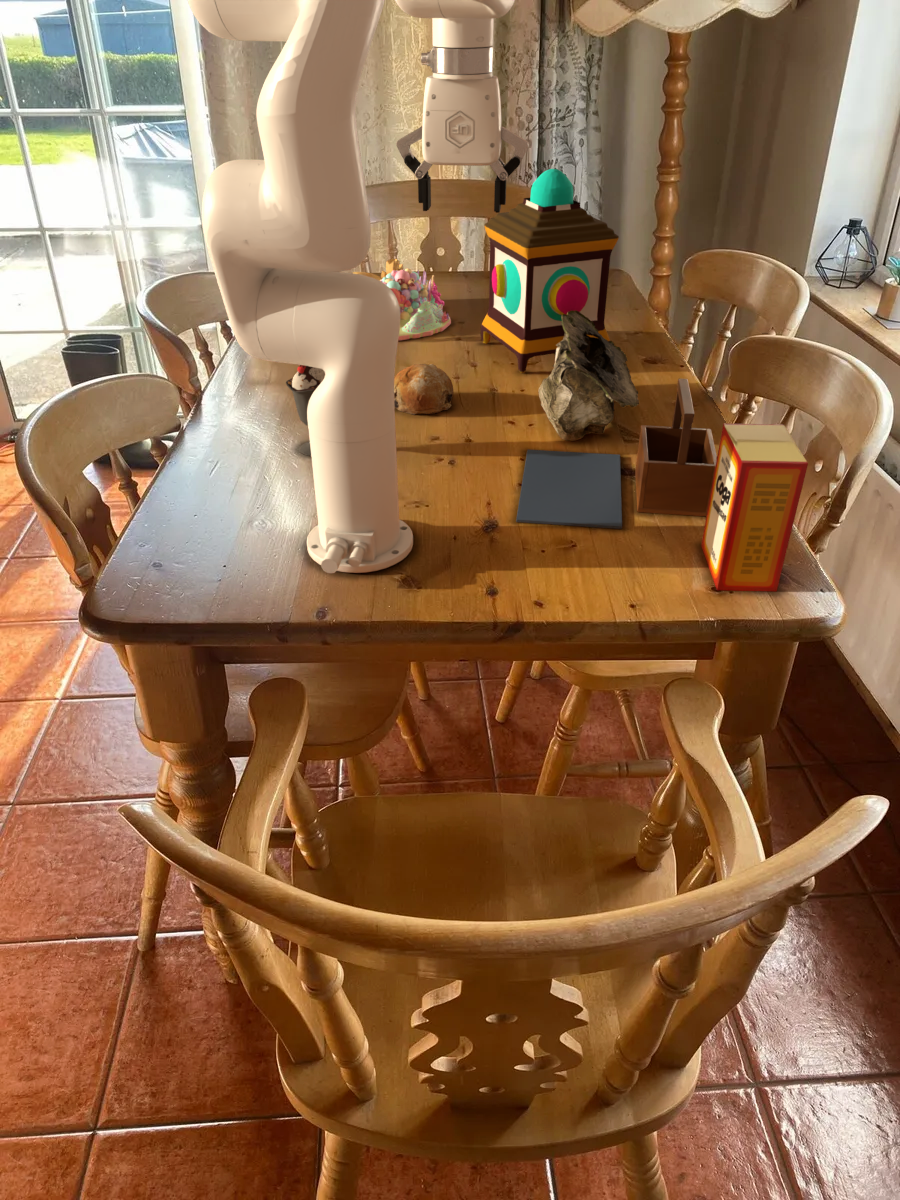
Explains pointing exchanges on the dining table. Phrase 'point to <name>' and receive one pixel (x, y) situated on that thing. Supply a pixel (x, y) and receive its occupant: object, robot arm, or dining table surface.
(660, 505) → the basket
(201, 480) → the dining table surface
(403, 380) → the bread roll
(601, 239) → the decorative lantern
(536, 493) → the placemat
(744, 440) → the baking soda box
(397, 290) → the candy landscape model
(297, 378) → the sundae
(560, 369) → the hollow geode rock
